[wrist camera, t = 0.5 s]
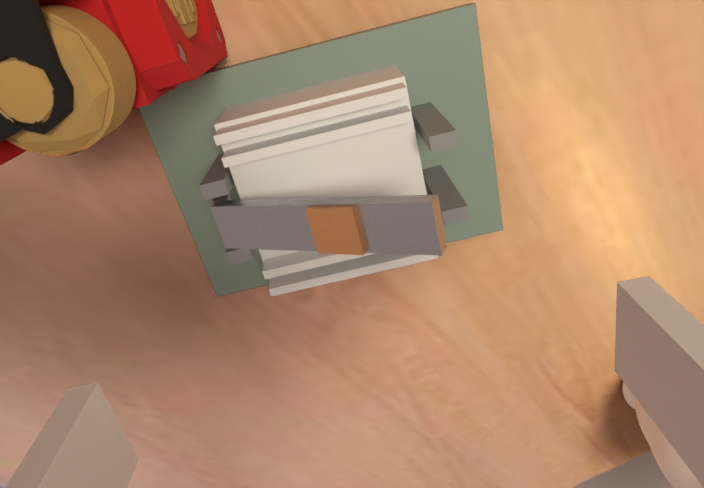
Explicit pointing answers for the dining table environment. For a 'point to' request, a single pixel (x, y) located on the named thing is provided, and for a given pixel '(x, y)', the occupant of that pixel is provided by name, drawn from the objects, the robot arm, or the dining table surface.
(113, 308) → the dining table surface
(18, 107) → the radio
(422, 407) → the dining table surface
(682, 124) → the dining table surface
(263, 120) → the heatsink
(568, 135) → the dining table surface
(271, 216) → the strap
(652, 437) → the jar
